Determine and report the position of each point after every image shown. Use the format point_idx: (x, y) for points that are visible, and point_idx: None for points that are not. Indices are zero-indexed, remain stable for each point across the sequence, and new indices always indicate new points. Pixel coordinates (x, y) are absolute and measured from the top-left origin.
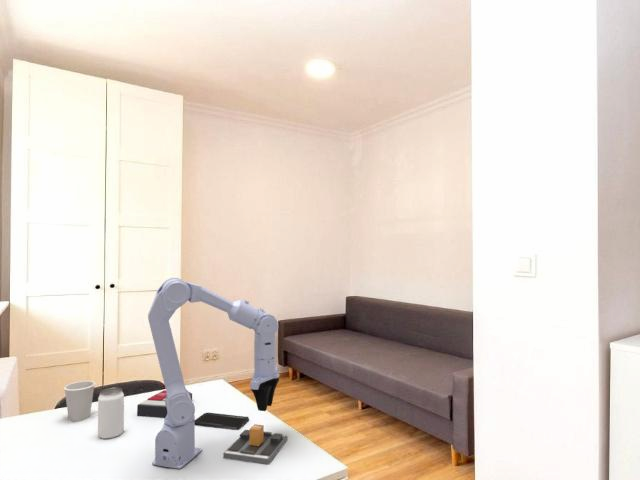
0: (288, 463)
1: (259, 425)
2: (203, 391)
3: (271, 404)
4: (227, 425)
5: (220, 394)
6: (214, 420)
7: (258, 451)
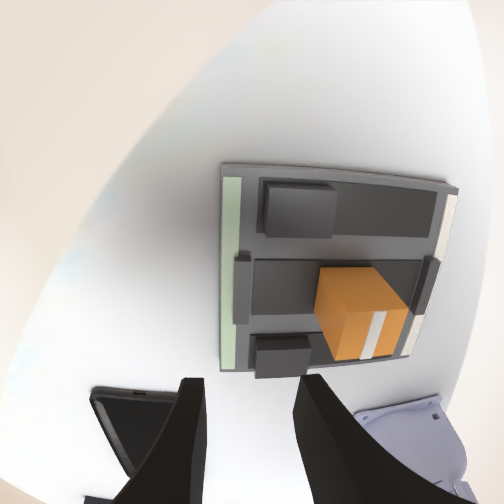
0: (433, 104)
1: (351, 331)
2: (35, 484)
3: (186, 382)
4: None
5: (19, 462)
6: None
7: (405, 252)
